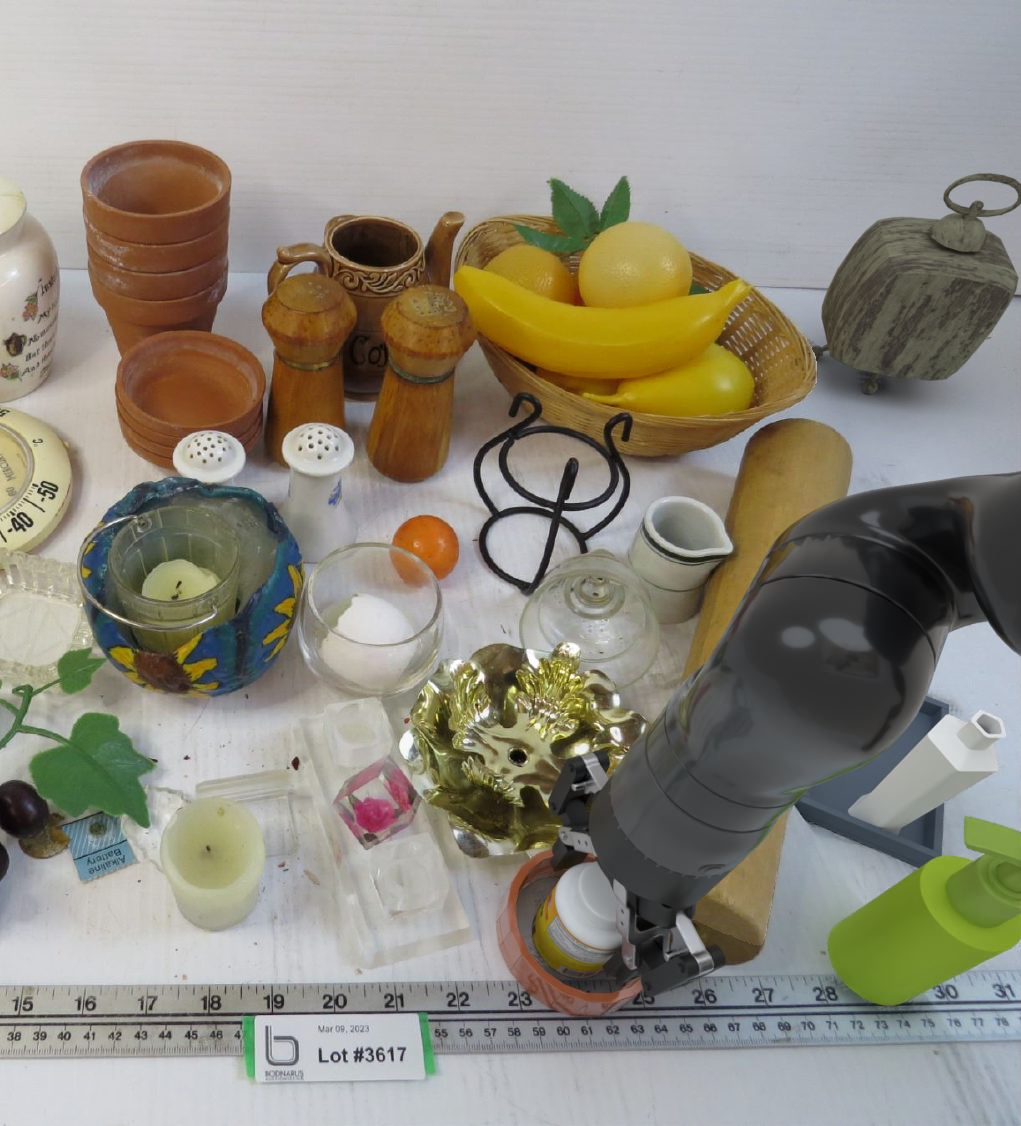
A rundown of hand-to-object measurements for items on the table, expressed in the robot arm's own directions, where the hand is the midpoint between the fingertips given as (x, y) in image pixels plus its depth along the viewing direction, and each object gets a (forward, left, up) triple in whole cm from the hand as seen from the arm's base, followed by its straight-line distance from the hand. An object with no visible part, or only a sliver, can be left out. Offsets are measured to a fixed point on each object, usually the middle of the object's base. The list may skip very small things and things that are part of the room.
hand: (590, 913), depth 64 cm
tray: (+6, -31, -6) cm, 32 cm away
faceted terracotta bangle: (0, 0, -6) cm, 6 cm away
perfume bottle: (+2, -28, -6) cm, 29 cm away
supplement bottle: (0, 0, -6) cm, 6 cm away
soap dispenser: (-7, -19, -6) cm, 22 cm away
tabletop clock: (+47, -64, -6) cm, 80 cm away
